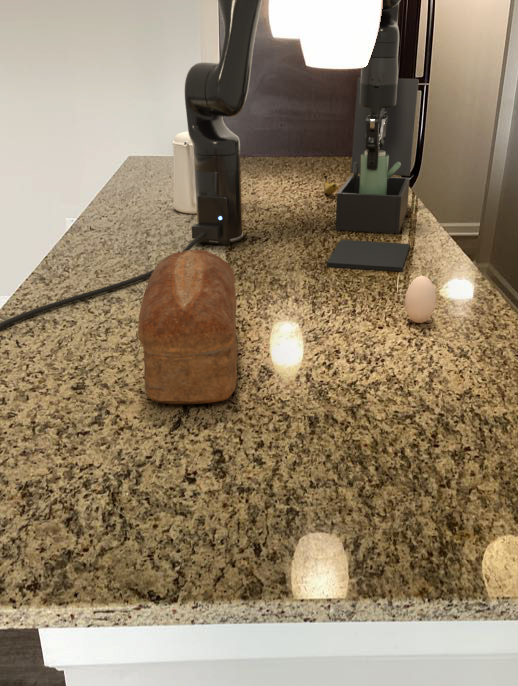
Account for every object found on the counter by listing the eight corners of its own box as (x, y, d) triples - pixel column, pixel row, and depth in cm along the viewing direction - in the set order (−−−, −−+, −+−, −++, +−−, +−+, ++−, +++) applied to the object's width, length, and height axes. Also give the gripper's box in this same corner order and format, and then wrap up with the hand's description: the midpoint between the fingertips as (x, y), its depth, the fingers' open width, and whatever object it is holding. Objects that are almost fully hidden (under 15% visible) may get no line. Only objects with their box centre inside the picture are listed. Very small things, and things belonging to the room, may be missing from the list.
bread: (138, 416, 95) (127, 310, 88) (158, 322, 122) (151, 236, 115) (239, 413, 95) (236, 307, 89) (237, 320, 122) (234, 234, 116)
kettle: (399, 201, 173) (403, 144, 167) (396, 207, 168) (400, 148, 162) (354, 198, 175) (357, 142, 169) (350, 204, 170) (352, 146, 164)
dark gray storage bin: (398, 233, 167) (401, 196, 163) (335, 230, 170) (336, 193, 166) (407, 212, 184) (409, 177, 180) (349, 208, 187) (350, 175, 183)
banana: (338, 199, 195) (339, 183, 193) (329, 200, 195) (329, 183, 193) (329, 190, 204) (330, 175, 202) (320, 191, 203) (321, 175, 201)
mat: (401, 271, 144) (402, 267, 144) (326, 266, 147) (326, 262, 146) (409, 247, 158) (409, 243, 157) (340, 243, 161) (340, 239, 160)
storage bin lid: (418, 79, 175) (418, 79, 175) (357, 77, 177) (358, 78, 178) (409, 175, 180) (409, 175, 180) (350, 172, 182) (351, 173, 183)
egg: (409, 328, 119) (412, 281, 116) (399, 318, 123) (402, 272, 120) (438, 326, 120) (442, 279, 117) (427, 316, 124) (431, 270, 121)
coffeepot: (165, 223, 175) (158, 133, 166) (180, 197, 197) (175, 117, 188) (213, 223, 175) (209, 134, 166) (224, 197, 197) (221, 117, 188)
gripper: (365, 78, 167) (361, 160, 175) (355, 83, 155) (351, 172, 163) (401, 79, 165) (395, 162, 173) (393, 84, 153) (387, 173, 161)
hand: (374, 166), depth 168 cm, fingers closed on kettle, 6 cm apart
